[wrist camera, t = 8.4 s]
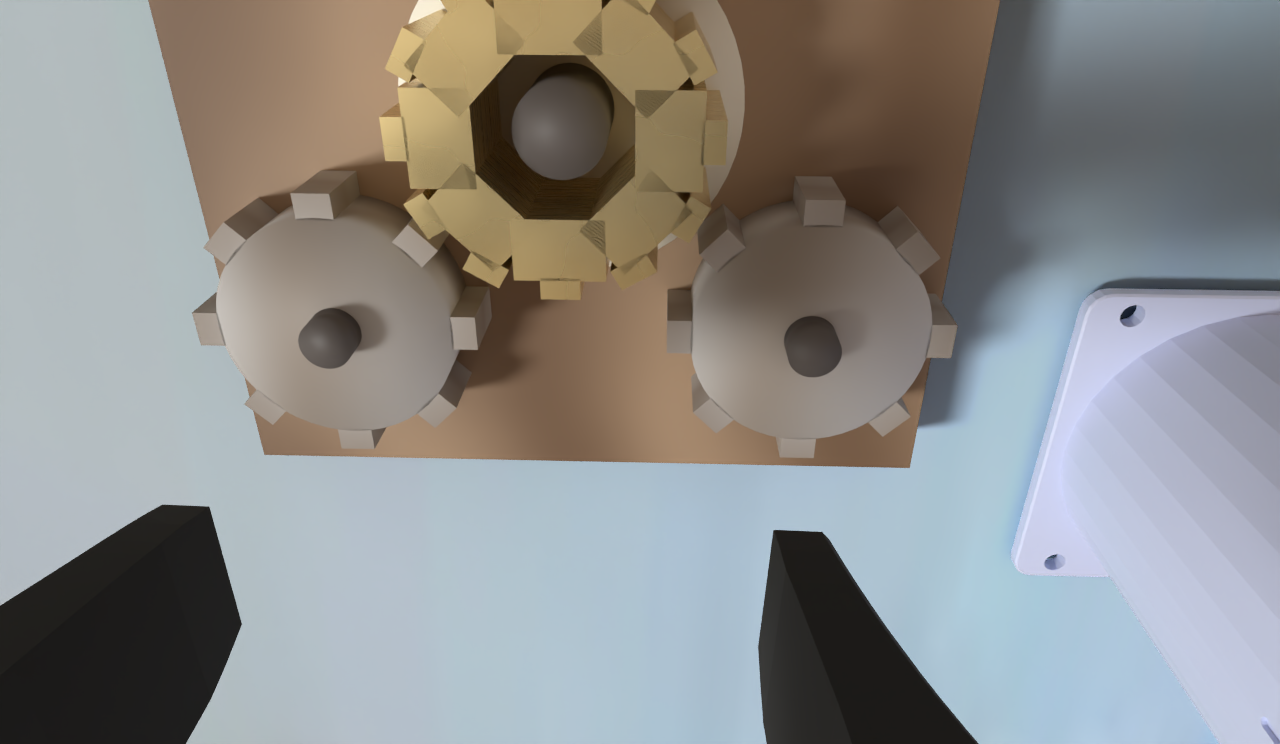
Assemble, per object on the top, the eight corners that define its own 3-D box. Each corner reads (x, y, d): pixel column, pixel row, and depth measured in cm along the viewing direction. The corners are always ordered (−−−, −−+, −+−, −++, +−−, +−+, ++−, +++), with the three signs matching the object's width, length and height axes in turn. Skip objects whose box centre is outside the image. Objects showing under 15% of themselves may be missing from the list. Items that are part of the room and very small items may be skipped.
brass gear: (726, -58, 14) (737, -51, 12) (711, 250, 17) (718, 302, 15) (403, -60, 14) (354, -54, 12) (438, 246, 17) (404, 296, 15)
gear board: (1008, -208, 14) (1102, -240, 11) (894, 432, 21) (934, 526, 18) (143, -209, 15) (0, -240, 12) (289, 420, 21) (222, 510, 18)
